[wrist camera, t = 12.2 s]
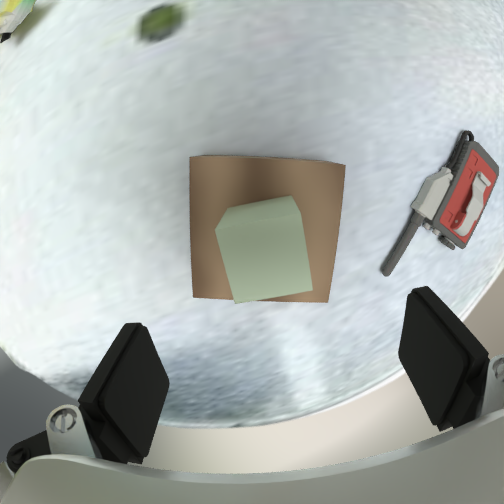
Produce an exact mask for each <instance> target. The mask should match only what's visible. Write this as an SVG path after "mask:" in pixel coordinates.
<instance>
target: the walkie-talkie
mask: <svg viewBox="0 0 504 504" xmlns="http://www.w3.org/2000/svg"><path fill="white" fill-rule="evenodd" d="M467 135H468V136H469V141H465V139H466V136H467ZM456 146H457V147H456V149H455V152H453V156H452V159H451V160H450V163H449V164H447V165H446V167H442V169H441V171H439V172H437V173H435V174H433V175H431V176H429V177H427V178H426V180H425V182H424V184H423V186H422V188H421V190H420V192H419V194H418V196H417V198H416V200H415V201H413V203H412V205H411V208H413V209H414V210H415V213H414V215H413V216H412V218H411V223H410V225H409V226H408V228H407V230H406V232H405V233H404V235H403V237H402V239H401V240H400V242H399V244H398V245H397V247H396V249H395V250H394V253H393V255H392V256H391V258H390V260H389V261H388V263H387V265H386V266H385V268H384V269H383V271H382V274H383V275H384V276H389V275H390V274H391V272H392V271H393V269H394V268H395V266H396V264H397V263H398V261H399V260H400V258H401V256H402V255H403V253H404V251H405V250H406V248H407V246H408V245H409V243H410V241H411V239H412V238H413V236H414V234H415V232H416V231H417V229H418V227H420V226H421V224H422V222H423V221H425V222H424V225H423V227H425V228H426V229H428V230H429V229H430V227H431V228H432V227H433V231H432V232H433V233H434V234H435V235H437V236H438V235H439V233H440V234H442V235H443V236H444V238H441V240H440V241H441V242H442V243H443V244H444V245H446V246H447V247H449V248H450V249H452V250H454V249H455V246H454V244H455V245H456V246H458V247H459V248H461V249H464V248H465V247H466V245H467V243H468V241H469V240H470V238H471V236H472V234H473V232H474V230H475V228H476V226H477V224H478V222H479V220H480V218H481V215H482V213H483V210H484V209H485V206H486V205H487V202H488V199H489V198H490V195H491V192H492V190H493V188H494V186H495V183H496V180H497V178H498V176H499V166H498V165H497V164H496V162H495V161H494V160H493V159H492V158H491V157H490V155H489V154H488V153H487V152H486V151H485V150H484V149H483V147H482V146H481V145H480V144H479V143H477V142H476V141H474V136H473V134H472V132H471V131H464V132H463V133H462V135H461V138H460V140H459V142H458V145H456Z"/></svg>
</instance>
